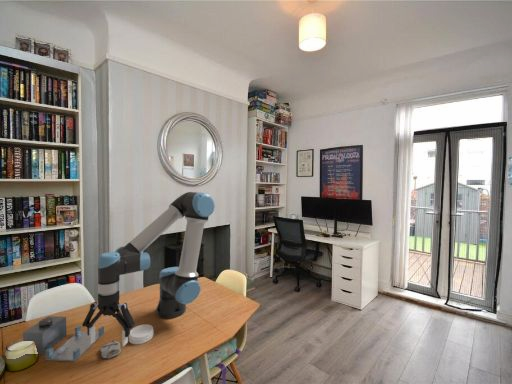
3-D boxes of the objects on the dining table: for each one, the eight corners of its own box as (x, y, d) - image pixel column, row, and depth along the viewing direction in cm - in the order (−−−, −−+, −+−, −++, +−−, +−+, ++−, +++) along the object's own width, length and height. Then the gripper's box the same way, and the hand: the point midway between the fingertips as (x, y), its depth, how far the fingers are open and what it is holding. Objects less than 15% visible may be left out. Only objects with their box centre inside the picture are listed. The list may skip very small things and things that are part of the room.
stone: (99, 349, 105) (98, 343, 105) (118, 342, 109) (118, 336, 109) (102, 363, 97) (102, 356, 97) (123, 354, 102) (123, 348, 102)
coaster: (137, 348, 106) (137, 339, 106) (124, 339, 111) (123, 332, 111) (158, 335, 114) (158, 328, 114) (144, 328, 120) (144, 321, 120)
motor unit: (104, 333, 115) (104, 310, 115) (75, 361, 98) (74, 334, 97) (54, 331, 116) (54, 309, 116) (16, 359, 98) (15, 333, 98)
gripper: (143, 289, 105) (143, 339, 106) (85, 286, 106) (85, 336, 107) (134, 297, 98) (134, 350, 98) (71, 294, 99) (71, 347, 99)
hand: (108, 343), depth 103 cm, fingers open, 13 cm apart
